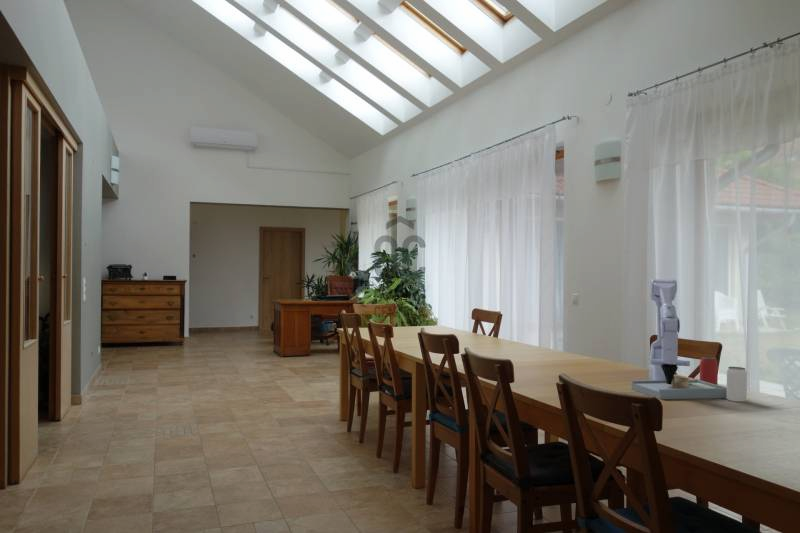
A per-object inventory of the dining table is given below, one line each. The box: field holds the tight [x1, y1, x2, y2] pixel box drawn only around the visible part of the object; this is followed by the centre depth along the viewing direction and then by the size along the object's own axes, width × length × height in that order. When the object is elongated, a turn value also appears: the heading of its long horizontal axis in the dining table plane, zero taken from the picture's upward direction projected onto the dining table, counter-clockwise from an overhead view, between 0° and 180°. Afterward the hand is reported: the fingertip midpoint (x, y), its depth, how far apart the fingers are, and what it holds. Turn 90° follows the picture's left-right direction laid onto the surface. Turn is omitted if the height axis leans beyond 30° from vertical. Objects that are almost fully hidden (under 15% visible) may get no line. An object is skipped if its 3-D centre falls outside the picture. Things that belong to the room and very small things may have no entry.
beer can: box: [699, 356, 719, 385], centre depth 255 cm, size 7×7×12 cm
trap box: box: [631, 379, 727, 400], centre depth 240 cm, size 19×29×4 cm, turn 100°
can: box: [725, 366, 748, 403], centre depth 228 cm, size 6×6×12 cm
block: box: [671, 374, 690, 388], centre depth 239 cm, size 5×5×4 cm
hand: (668, 384), depth 240 cm, fingers closed
